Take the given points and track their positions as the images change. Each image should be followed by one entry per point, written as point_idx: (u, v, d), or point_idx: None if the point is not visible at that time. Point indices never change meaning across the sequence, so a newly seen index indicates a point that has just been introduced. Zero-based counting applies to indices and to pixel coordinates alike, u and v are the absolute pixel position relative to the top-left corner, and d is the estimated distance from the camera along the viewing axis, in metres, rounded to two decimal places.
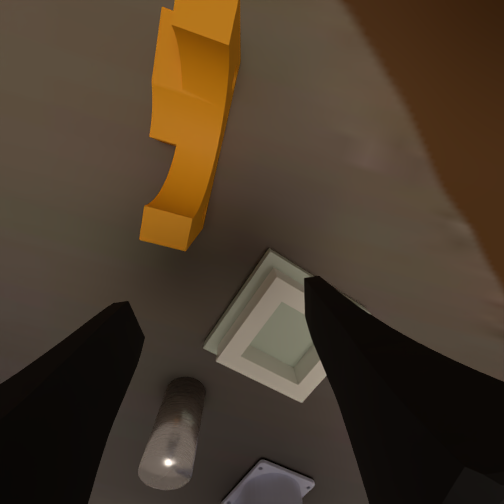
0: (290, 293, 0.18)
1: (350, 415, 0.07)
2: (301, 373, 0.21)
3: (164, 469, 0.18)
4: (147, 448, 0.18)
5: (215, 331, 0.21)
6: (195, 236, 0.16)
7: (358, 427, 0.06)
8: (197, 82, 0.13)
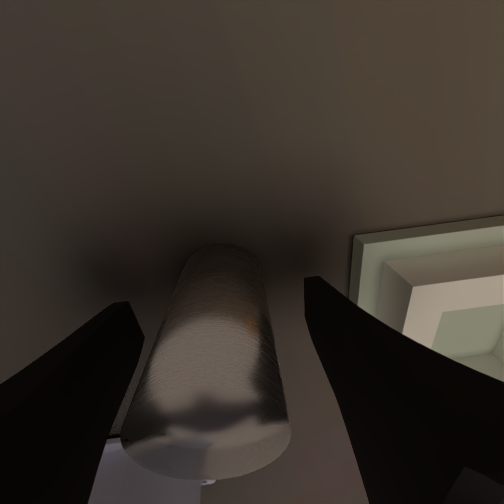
0: None
1: (350, 415, 0.07)
2: None
3: (218, 434, 0.06)
4: (209, 353, 0.06)
5: (411, 239, 0.10)
6: None
7: (358, 427, 0.06)
8: None
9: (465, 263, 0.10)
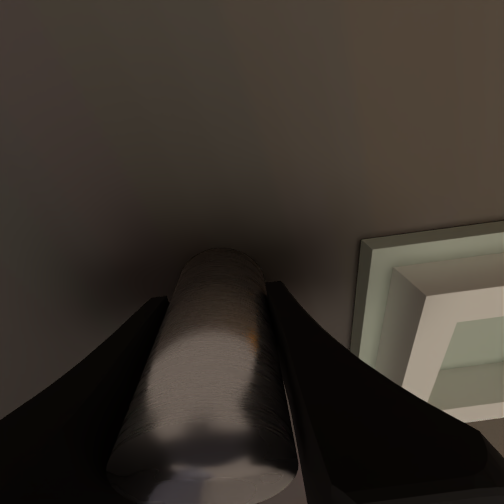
0: None
1: (295, 422, 0.07)
2: (428, 397, 0.12)
3: (217, 468, 0.05)
4: (207, 377, 0.05)
5: (423, 243, 0.10)
6: None
7: (298, 435, 0.06)
8: None
9: (481, 270, 0.09)
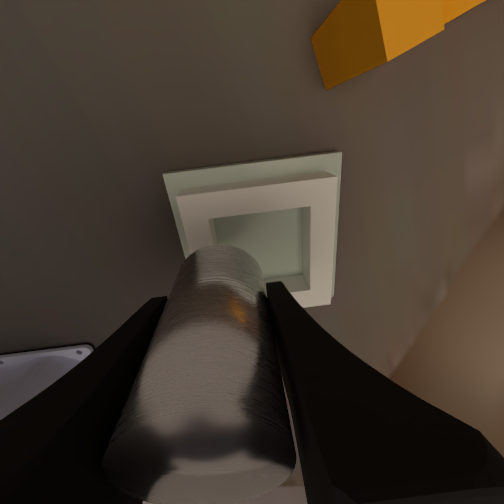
0: (326, 207, 0.14)
1: (295, 422, 0.07)
2: None
3: (213, 461, 0.05)
4: (200, 371, 0.05)
5: (197, 171, 0.14)
6: None
7: (298, 435, 0.06)
8: None
9: (228, 186, 0.14)
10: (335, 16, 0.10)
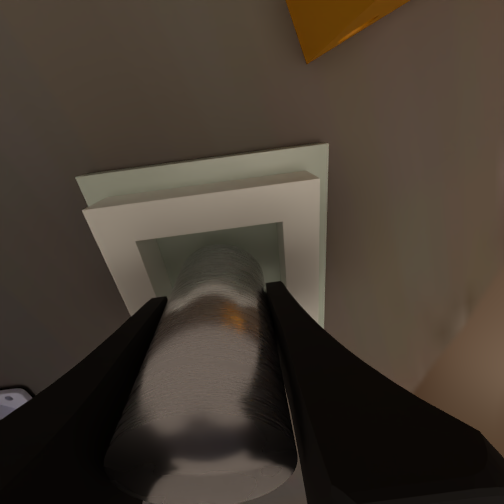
0: (305, 222, 0.10)
1: (295, 422, 0.07)
2: None
3: (215, 462, 0.05)
4: (201, 371, 0.05)
5: (124, 172, 0.10)
6: (344, 30, 0.07)
7: (298, 435, 0.06)
8: None
9: (165, 193, 0.10)
10: None
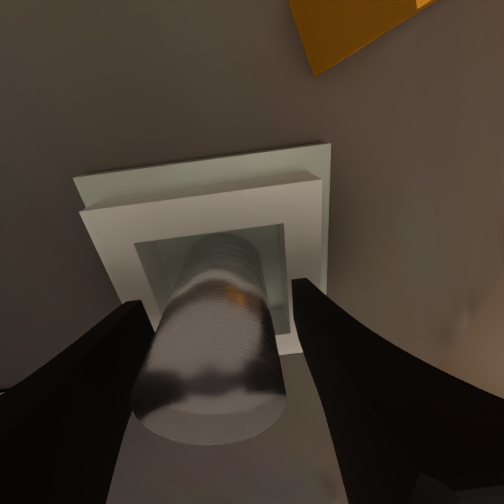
0: (307, 224, 0.09)
1: (332, 417, 0.07)
2: None
3: (219, 397, 0.06)
4: (208, 324, 0.06)
5: (123, 172, 0.10)
6: (354, 51, 0.07)
7: (338, 430, 0.06)
8: None
9: (164, 194, 0.10)
10: None
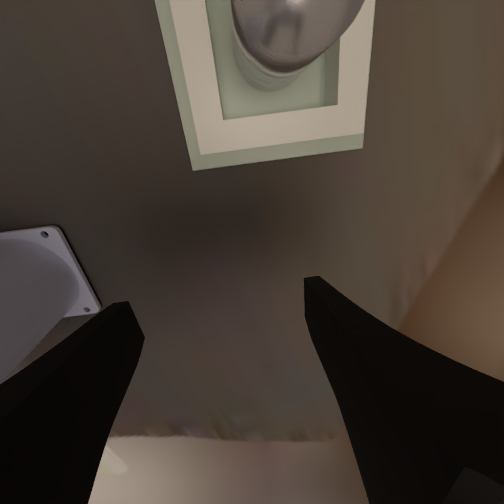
0: None
1: (350, 415, 0.07)
2: None
3: None
4: None
5: None
6: None
7: (358, 427, 0.06)
8: None
9: None
10: None
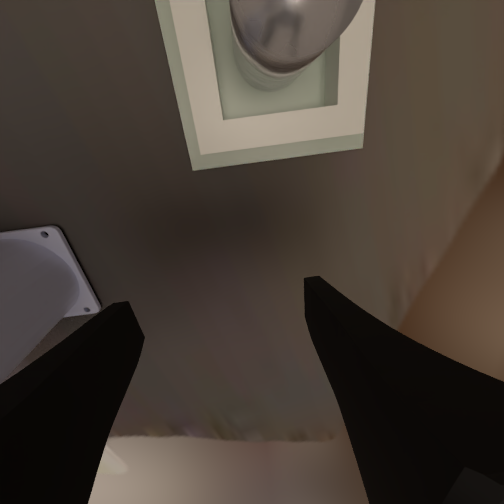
0: None
1: (350, 415, 0.07)
2: None
3: None
4: None
5: None
6: None
7: (358, 427, 0.06)
8: None
9: None
10: None
